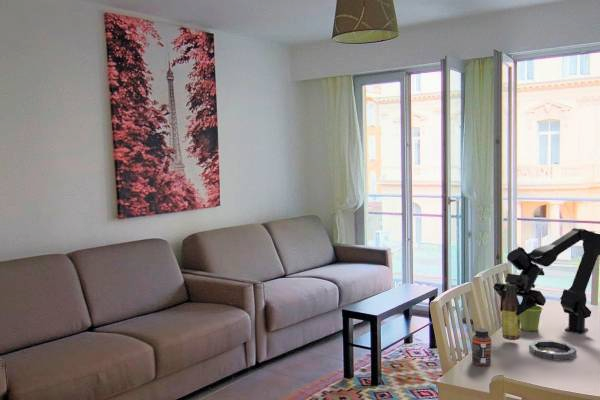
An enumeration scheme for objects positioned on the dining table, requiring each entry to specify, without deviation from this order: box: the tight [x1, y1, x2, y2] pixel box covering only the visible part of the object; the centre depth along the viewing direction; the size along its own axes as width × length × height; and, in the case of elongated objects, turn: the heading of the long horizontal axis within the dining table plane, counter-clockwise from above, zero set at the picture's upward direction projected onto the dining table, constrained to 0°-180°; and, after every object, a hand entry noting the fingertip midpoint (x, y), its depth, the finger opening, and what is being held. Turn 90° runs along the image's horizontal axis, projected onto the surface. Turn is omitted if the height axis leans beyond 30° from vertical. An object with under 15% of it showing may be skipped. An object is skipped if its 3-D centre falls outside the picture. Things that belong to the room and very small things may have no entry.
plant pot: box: [520, 304, 544, 332], centre depth 226 cm, size 9×9×9 cm
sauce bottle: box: [501, 282, 521, 341], centre depth 210 cm, size 6×6×20 cm
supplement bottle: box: [471, 327, 492, 367], centre depth 192 cm, size 6×6×11 cm
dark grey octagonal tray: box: [528, 339, 577, 361], centre depth 200 cm, size 14×14×2 cm
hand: (508, 312), depth 209 cm, fingers closed on sauce bottle, 6 cm apart
